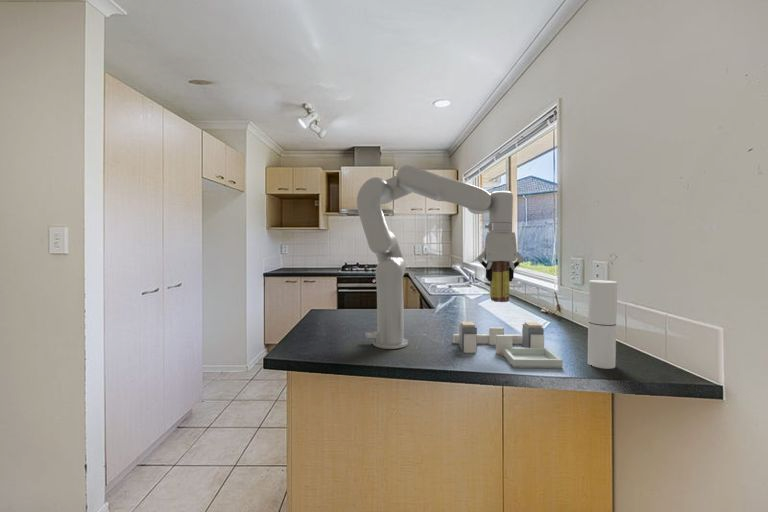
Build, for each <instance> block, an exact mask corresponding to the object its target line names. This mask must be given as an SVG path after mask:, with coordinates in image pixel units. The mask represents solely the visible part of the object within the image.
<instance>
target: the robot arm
mask: <svg viewBox="0 0 768 512" xmlns="http://www.w3.org/2000/svg"><path fill="white" fill-rule="evenodd" d="M412 193H414V194H415V195H416V194H417V195H420V196H422V197H425V198H428V199H431V200H432V201H437V202H446V203H452V204H454V205H458V206H461V207H463V208H465V209H467V210H468V212H470V213H471V214H474V215H481V214H482V215H483V214H488V215H489V216H488V218H489V219H488V222H489V223H488V224H484V229H485V230H488V232H486V236H485V241H484V251H482V252H481V253H480V254H479V255H478V256H477V257H476V260H477V261H478V262H479V264H480V265H481V266H482V267H484V269H485V278H486V280H487V281H488V282H490V281H491V279H492V270H491V268H490V267H491V265H492V263H493V262H499V261H504V262H508V263H509V283H510V282H511V283H512V282H513V279H514V278H515V277H514V276H515V275H514V270H516V268H517V267H518V266H519V265H520V264H521V263H522V262H523V261H524V260H525V258H524V257H523V256H522V255H521V254H520V253H519V252H518V249H517V238H516V232H515V231H514V232H513V217H514V216H513V213H514V212H513V208H514V206H513V205H514V204H513V203H514V196H513V193H512V192H511V191H507V190H499V191H493V192H492V193H489V192H488V191H487V190H485V189H483V188H481V187H478V186H476V185H472V184H469V183H467V182H463V181H460V180H457V179H452V178H450V177H446V176H442V175H439V174H437V173H434V172H430V171H428V170H425V169H421V168H419V167H416V166H414V165H409V164H407V165H406V164H405V165H403V166H401V167H400V168H399V169H398V170H397V172H396V175H394V176H393V177H390V178H387V179H384V178H382V177H377V176H375V177H371V178H369V179H368V180H366V181H365V182H364V183H363V184H362V185H361V186H360V189H359V190H358V192H357V197H356V207H357V212H358V216H359V219H360V222H361V225H362V229H363V231H364V235H365V237H366V241H367V245H368V249H369V250H370V251H371V252H372V253H373V254H375V256H376V258H377V261H378V263H377V265H376V269H375V282H376V283H375V285H376V312H377V313H376V314H377V315H376V316H377V317H376V318H377V319H376V320H377V322H376V323H377V324H376V325H377V326H376V327H377V330H376V331H374V332H365V334H364V335H365V337H364V338H366V339H368V340H373V341H372V344H373V346H374V347H376V348H379V349H383V350H385V349H386V350H395V349H396V350H397V349H402V348H405V347H407V346H408V345H409V342H408V341H409V340H408V339H406V338H405V336H404V335H405V334H404V333H405V332H404V330H405V329H404V327H405V326H404V323H405V322H404V321H405V320H404V317H405V315H404V313H405V312H404V279H403V278H404V275H405V274H406V273H405V272H406V268H407V267H406V262H405V259H404V257H403V254H402V251H401V249H400V245H399V242H398V240H397V237H396V235H395V234H394V233H393V232H392V231H391V230H390V229H389V227H388V224H387V222H386V221H387V220H386V218H385V215H384V212H383V210H382V205H385V204H389V203H391V202H394V201H396V200H399V199H401V198H403V197H405V196H408V195H409V194H410V195H411V194H412ZM484 260H486V262H485V261H484Z"/></svg>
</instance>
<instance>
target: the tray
mask: <svg viewBox="0 0 768 512" xmlns="http://www.w3.org/2000/svg"><path fill="white" fill-rule="evenodd" d="M502 357H503V358H506V359H507V360H506V359H505V360H506V361H507V362H508V363H509V365H510V364H511V365H512V366H511V365H510V366H511V367H512V369H557V370H558V369H561V370H562V369H563V358H561V357H559V356H558V355H557V354H556V353H554V352H552V351H551V350H550V349H549V348H547V347H544V348H524V347H512V348H507V347H503V356H502Z"/></svg>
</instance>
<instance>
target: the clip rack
mask: <svg viewBox="0 0 768 512" xmlns="http://www.w3.org/2000/svg"><path fill="white" fill-rule="evenodd" d="M458 324H459V325H458V326H459V329H458V330H459V331H458V332H459V333H454V334H453V340H452V341H453V344H458V346H459V348H460V350H461V351H462V352H463V353H465V354H466V353H467V354H469V353H471V354H473V353H474V354H477V352H478V348H477V347H478V345H479V344H483V345H485V344H488V345H490V346H495V353H496V354H498V355H499V354H500V356H502V357H504V356H503V347H507V348H513V345H522V348H545V334H544V332H545V330H544V329H545V328H544V327H543V326H542V324H541V323H539V322H537V321H525V322H524V323H522V328H521V329H522V331H521V333H522V334H505V327H494V326H493V327H488V334H485V333H483V334H482V333H480V334H479V333H478V328H477V326H476V324H475V323H474V321H460V323H458Z"/></svg>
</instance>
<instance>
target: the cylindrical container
mask: <svg viewBox="0 0 768 512" xmlns="http://www.w3.org/2000/svg"><path fill="white" fill-rule="evenodd" d="M617 295H618V281H616V280H605V279H604V280H603V279H593V280H592V279H591V280H588V311H587V312H588V315H587V316H588V317H587V318H588V322H587V323H588V324H587V326H588V327H587V364H588V365H589V366H591V365H592V367H595V368H598V369H606V370H608V369H611V370H612V369H615V368H616V359H617V358H616V354H617V348H616V347H617V304H618V303H617V302H618V299H617V298H618V296H617Z"/></svg>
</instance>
